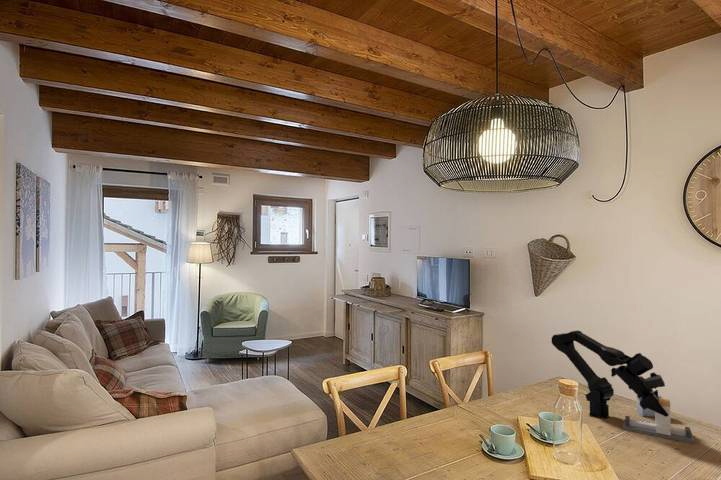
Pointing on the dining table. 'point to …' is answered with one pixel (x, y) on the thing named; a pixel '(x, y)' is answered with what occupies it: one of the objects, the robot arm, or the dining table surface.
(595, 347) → the robot arm
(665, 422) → the white upright block
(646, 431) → the board
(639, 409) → the medicine box
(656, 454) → the dining table surface
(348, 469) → the dining table surface
